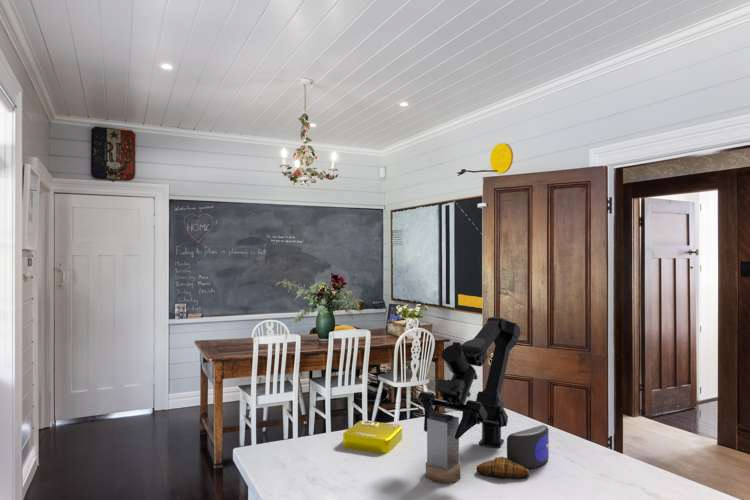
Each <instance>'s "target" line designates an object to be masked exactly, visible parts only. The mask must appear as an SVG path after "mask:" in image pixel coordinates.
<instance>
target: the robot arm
mask: <svg viewBox="0 0 750 500" xmlns="http://www.w3.org/2000/svg"><path fill="white" fill-rule="evenodd" d="M521 332H522V331H521V326H519V325H518V324H517V323H516V322H513V321H509V320H507V319H505V318H503V317H499V316H498V317H496V316H495V317H493V316H490V317H488V318H487V320H486V323H485V324H484V325H483V327H482V328H481V329H480V330H479V332H478V333H477V334H476V335H474V337H473V338H472V339H469V340H466V341H464V342H463V343H461V342H456V341H453V342H452V344H450V345H448V346H447V347H445V348H444V349H443V350H442V352H441V359H442V360H443V362H444V364H445V365H446V367H447V369H448V370H449V372H450V373H452V376H451V378H450V379H445V378H444V379H443V378H436V383H435V388H434V391H435V392H439V396H440V397H441V398H442V399H439V398H437V397H436V395H435V393H434V392H430V391H429V392H428V391H420V393H418V396H417V398H416V399H417V401H418V402H419V403H420V405H421V406H422V409H423V410H424V420H423V422H424V424H423V431H424V432H425V433H427V419H428V418H430V417H432V416H434V415H436V414H438V413H437V411H439V408H443V409H447V410H448V409H449V410H453V411H456V412H457V411H458V412H462V415H461V420H459V426H458V429H457V431H456V434H455V439H457V440H458V439H459V440H460V438H461V437H462V436H463V435H465V433H466V432H468V431H469V430H470V429H472V428H473V427H474V426H475V425H480V424H481V439H480V440H479V442H478V445H479V446H487V447H492V448H493V447H494V448H501V447H502V445H503V444H504V442H505V440H504V439H502V428H503V427H508V426H507V425H508V419H509V416H508V414H507V412H506V410H505V409H504V406H505V404H504V400H503V398H502V397H503V396H502V394H501V392H502V390H503V389H502V388H503V384H504V379H505V374H506V370H507V366H508V361H509V358H510V357H509V355H510V351H511V350H512V349H513V348H514V347H515V346H517V343H518V341H519V338H520V337H521V334H522V333H521ZM492 343H494V349H493V354H492V358H491V362H490V367H489V370H488V375H487V379H486V383H485V388H484V389H483V390H482V391H481V390H480V391H478V392H477V394H476V398H475V400H470V399H468V400H467V398H470V396H471V392H470V389H471V387H472V385H473V382H474V380H478V374H477V372H476V368H474V367H482V366H484V364H485V363H486V362H487V358H488V352H487V351H488V349H489V348H490V346H491V345H492ZM465 402H466V403H465Z"/></svg>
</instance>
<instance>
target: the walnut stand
mask: <svg viewBox="0 0 750 500" xmlns="http://www.w3.org/2000/svg"><path fill="white" fill-rule="evenodd" d="M461 467H462V466H461V463H460V462H459V464H458V465H456V466H454V467H453V468H451V469H450V470H448V471H445V470H442V469H439V468H435V467H432V466H428V465H427V461H426V462H425V478H426V479H427V478H428V480H429V481H430V480H431V481H430V482H432V483H433V482H434V483H436V484H441V485H442V484H445V485H446V484H447V485H448V484H455V483H457V482H459V481H460V480H461V476H462V475H461V473H462V472H461V470H462V469H461Z"/></svg>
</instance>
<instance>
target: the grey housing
mask: <svg viewBox="0 0 750 500" xmlns="http://www.w3.org/2000/svg"><path fill="white" fill-rule="evenodd" d="M459 424H460V418H459V417H457V416H454V415H451V414H447V413H442V412H439V413H437V414H436V415H434V416H432V417H430V418H428V419H427V432H426V451H427V452H426V457H427V458H426V462H427V465H428V466H432V467H435V468H439V469H442V470H445V471H448V470H450V469H451V468H453V467H454V466H456V465H458V464H459V463H460V438H459V439H458V440H457V439H455V434H456V431H457V429H458V426H459Z"/></svg>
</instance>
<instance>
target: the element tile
mask: <svg viewBox="0 0 750 500" xmlns="http://www.w3.org/2000/svg"><path fill="white" fill-rule="evenodd" d="M401 439H402V440H403V426H402V425H400V424H395V423H387V422H379V421H374V420H373V421H372V420H363V419H362V420H359V421H358V422H356V423H355V424H353V425H352V426H351V427H349V428H348V429H347V430H345V431H344V432H343V434H342V447H343V448H344V449H350V450H355V451H356V450H357V451H363V452H369V453H376V454H388V452H389V453H390V452H392V451H393V450H394V449H395V448H396V446H397V445H398V444H399V443H400V442H401V441H402V440H401Z"/></svg>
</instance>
